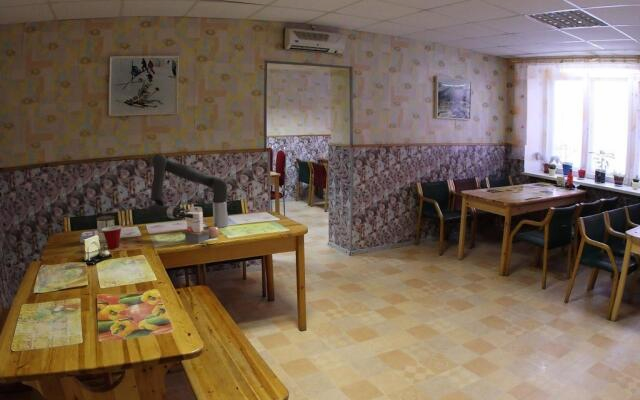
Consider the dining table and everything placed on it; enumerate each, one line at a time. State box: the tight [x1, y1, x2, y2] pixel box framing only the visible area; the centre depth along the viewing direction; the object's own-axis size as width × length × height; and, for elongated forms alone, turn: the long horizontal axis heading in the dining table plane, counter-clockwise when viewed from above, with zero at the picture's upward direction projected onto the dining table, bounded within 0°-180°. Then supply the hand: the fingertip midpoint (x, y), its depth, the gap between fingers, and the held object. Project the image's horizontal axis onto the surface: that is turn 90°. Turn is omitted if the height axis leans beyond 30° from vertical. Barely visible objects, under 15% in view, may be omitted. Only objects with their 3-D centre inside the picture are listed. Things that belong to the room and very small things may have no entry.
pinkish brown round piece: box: [207, 226, 220, 239], centre depth 292 cm, size 6×6×6 cm
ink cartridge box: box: [186, 206, 204, 232], centre depth 281 cm, size 9×5×15 cm, turn 79°
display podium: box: [182, 228, 211, 244], centre depth 284 cm, size 12×12×6 cm
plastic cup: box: [102, 225, 122, 250], centre depth 267 cm, size 11×11×12 cm
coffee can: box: [95, 215, 116, 243], centre depth 284 cm, size 10×10×14 cm
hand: (197, 214), depth 281 cm, fingers open, 8 cm apart
